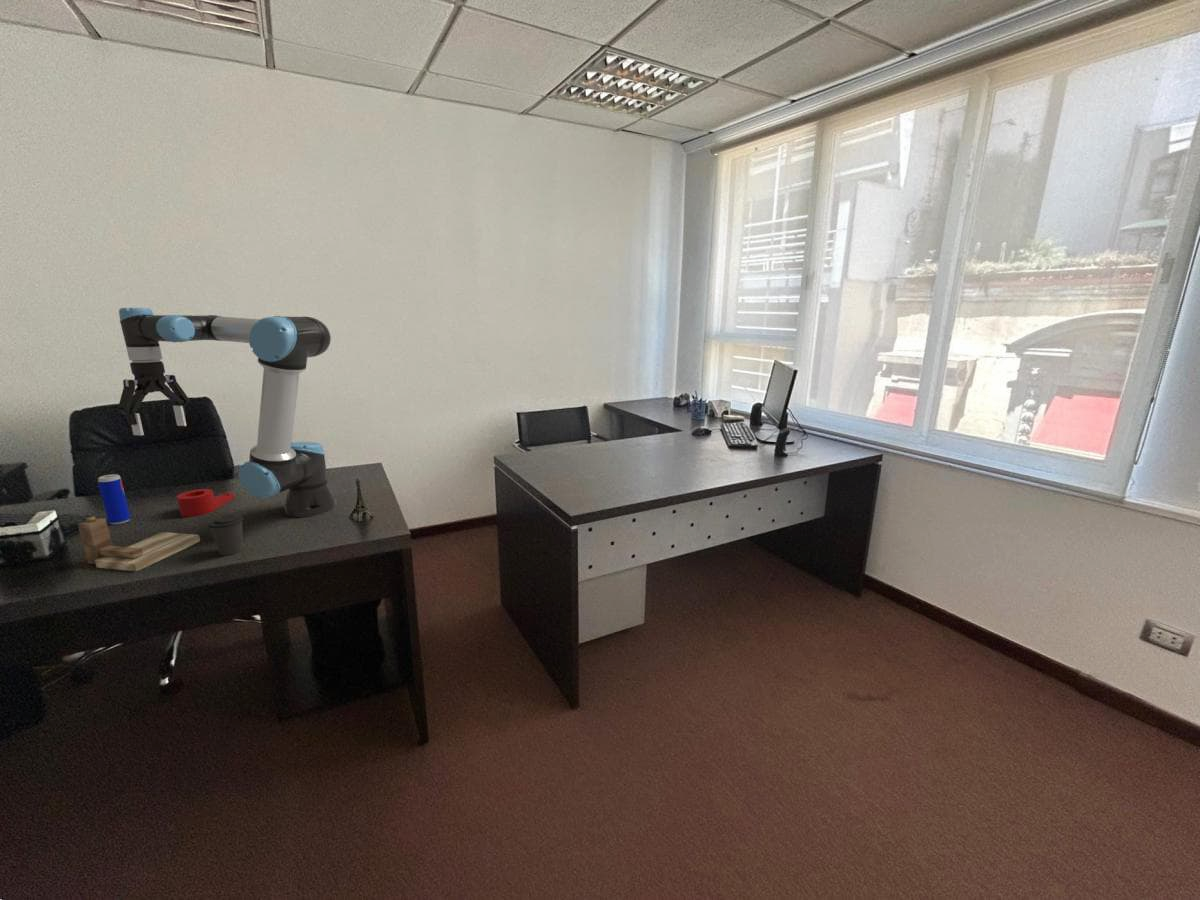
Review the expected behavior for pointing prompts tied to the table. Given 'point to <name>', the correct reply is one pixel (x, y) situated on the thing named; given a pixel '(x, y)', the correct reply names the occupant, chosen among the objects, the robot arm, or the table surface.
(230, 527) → the coffee cup
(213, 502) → the lever
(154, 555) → the board
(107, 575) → the table surface
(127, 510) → the beverage can
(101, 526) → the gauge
